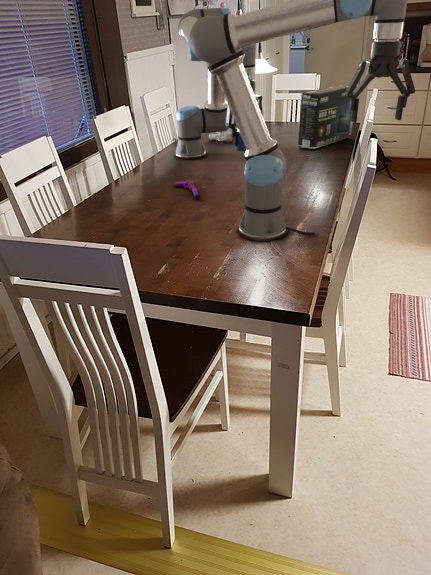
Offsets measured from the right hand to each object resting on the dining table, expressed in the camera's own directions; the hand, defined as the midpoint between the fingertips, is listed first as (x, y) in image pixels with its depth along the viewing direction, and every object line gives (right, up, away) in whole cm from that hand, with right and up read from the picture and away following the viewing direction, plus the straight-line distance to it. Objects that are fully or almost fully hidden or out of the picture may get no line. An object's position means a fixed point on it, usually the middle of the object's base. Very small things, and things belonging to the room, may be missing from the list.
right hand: (375, 120), depth 138 cm
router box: (+10, +27, +107) cm, 111 cm away
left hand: (-37, +5, +39) cm, 54 cm away
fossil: (-43, +33, +121) cm, 133 cm away
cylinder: (-37, +4, +40) cm, 55 cm away
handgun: (-59, -11, +48) cm, 78 cm away
